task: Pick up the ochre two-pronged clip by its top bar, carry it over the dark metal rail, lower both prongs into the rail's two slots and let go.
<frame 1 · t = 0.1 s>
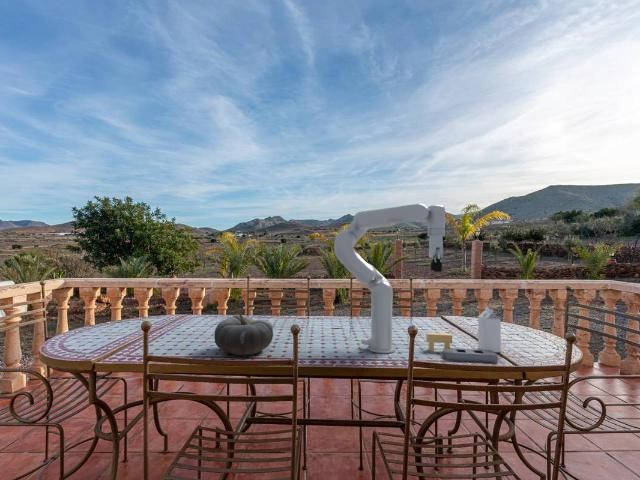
hand: (436, 270, 165), 37 cm above the table, fingers open, 9 cm apart
milk carton: (489, 351, 169), on the table
gourd: (244, 351, 163), on the table
rail: (469, 358, 156), on the table
clip: (439, 350, 168), on the table
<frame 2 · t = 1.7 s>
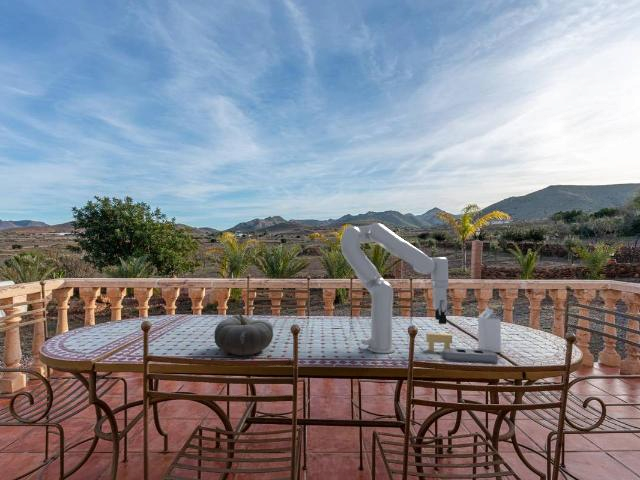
hand: (440, 321, 168), 13 cm above the table, fingers open, 9 cm apart
nothing on the table moved.
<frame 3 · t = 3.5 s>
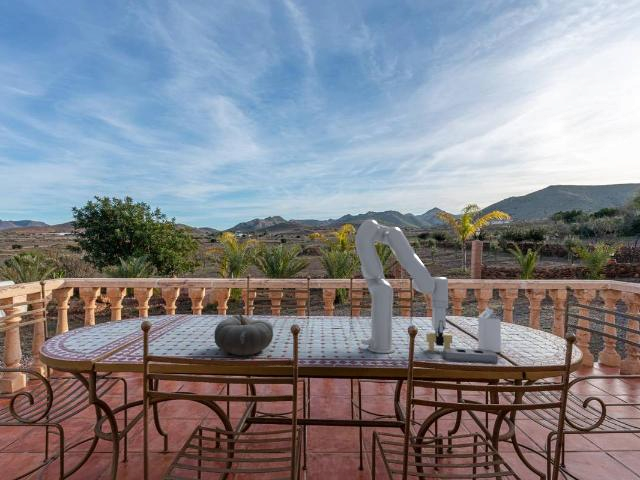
hand: (439, 343, 168), 3 cm above the table, fingers closed on clip, 3 cm apart
clip: (439, 350, 168), on the table, touching gripper
everything else where it was.
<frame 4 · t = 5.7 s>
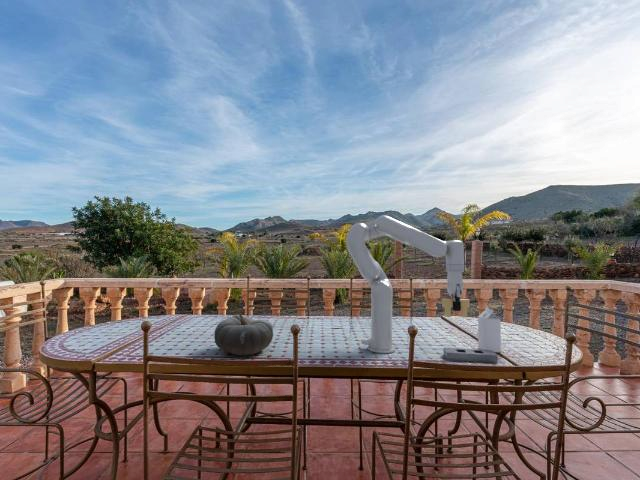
hand: (455, 309, 162), 20 cm above the table, fingers closed on clip, 3 cm apart
clip: (456, 316, 162), point 17 cm above the table, touching gripper
everything else where it was.
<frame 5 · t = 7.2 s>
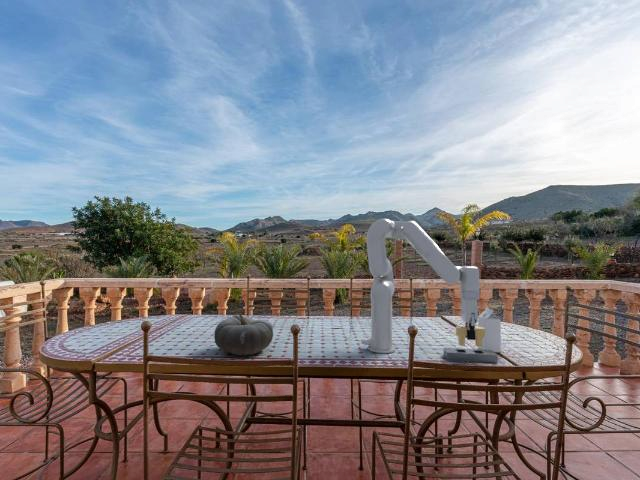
hand: (470, 338, 157), 9 cm above the table, fingers closed on clip, 3 cm apart
clip: (470, 345, 156), point 6 cm above the table, touching gripper
everything else where it was.
when the fingers open (4 cm above the table, at t = 8.4 s): clip drops 1 cm, resting in rail.
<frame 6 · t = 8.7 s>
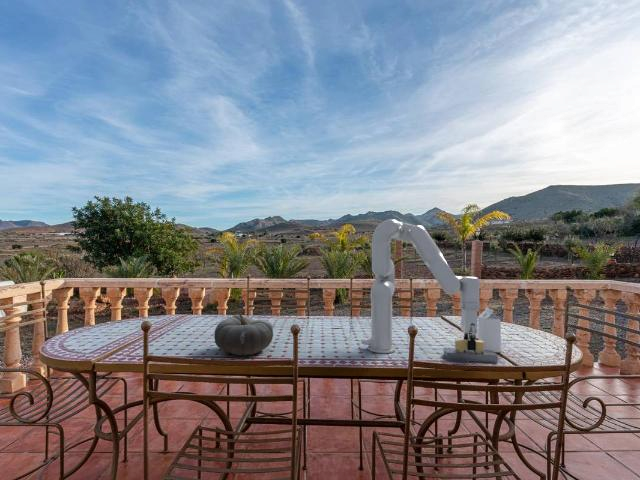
hand: (469, 347, 157), 5 cm above the table, fingers open, 6 cm apart
clip: (469, 358, 156), resting in rail
everything else where it was.
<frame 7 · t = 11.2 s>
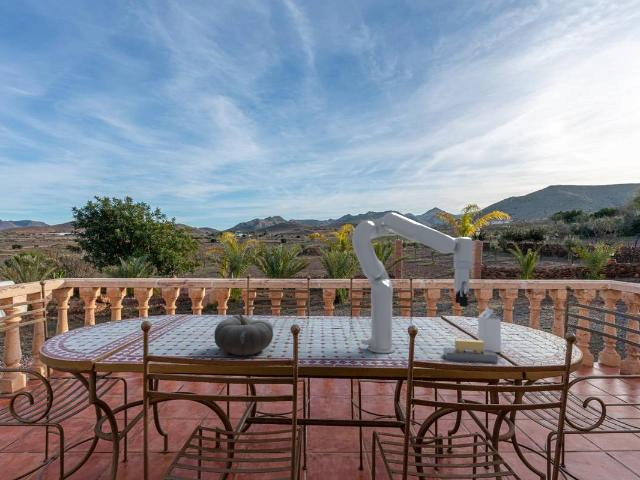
hand: (461, 304, 161), 22 cm above the table, fingers open, 9 cm apart
nothing on the table moved.
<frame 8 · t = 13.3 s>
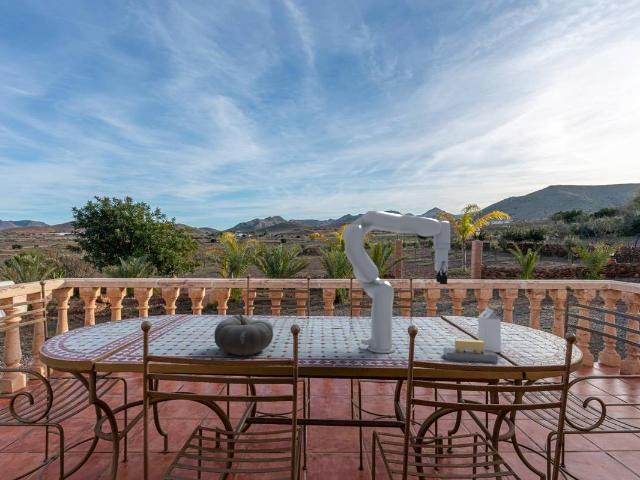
hand: (441, 283, 174), 30 cm above the table, fingers open, 9 cm apart
nothing on the table moved.
at the end: clip 0.2 cm off-centre on the rail, point 0.0 cm above the rail's base; clip tilted 0°; the gripper is holding nothing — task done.
